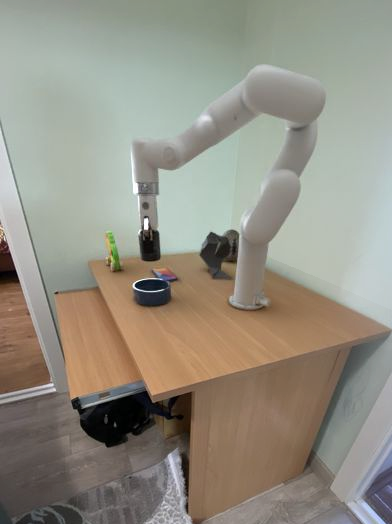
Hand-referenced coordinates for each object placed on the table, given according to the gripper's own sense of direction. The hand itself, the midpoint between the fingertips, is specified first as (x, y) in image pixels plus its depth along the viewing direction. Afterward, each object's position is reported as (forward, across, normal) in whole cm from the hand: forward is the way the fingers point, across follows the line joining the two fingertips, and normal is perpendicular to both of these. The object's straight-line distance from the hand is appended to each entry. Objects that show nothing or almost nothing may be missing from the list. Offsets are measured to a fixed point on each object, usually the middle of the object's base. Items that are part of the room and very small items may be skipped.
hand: (150, 249), depth 98 cm
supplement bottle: (+3, 0, 0) cm, 3 cm away
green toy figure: (+18, +37, +21) cm, 46 cm away
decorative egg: (+18, +49, -34) cm, 62 cm away
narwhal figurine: (+18, +30, -25) cm, 43 cm away
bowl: (+18, 0, 0) cm, 18 cm away
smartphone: (+18, +25, -3) cm, 31 cm away
